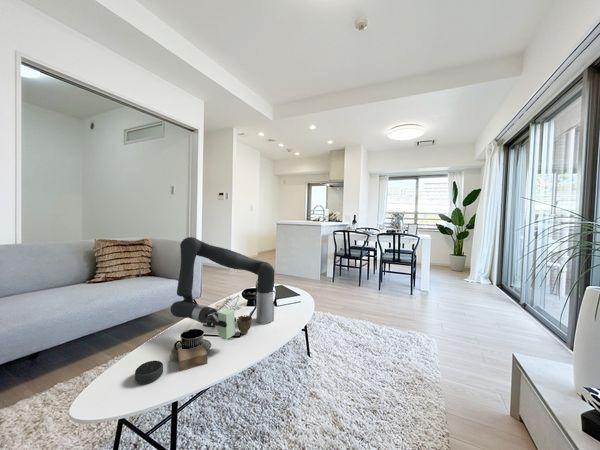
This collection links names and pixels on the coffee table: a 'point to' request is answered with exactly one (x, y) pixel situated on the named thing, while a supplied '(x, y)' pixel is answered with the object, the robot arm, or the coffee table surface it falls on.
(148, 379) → the smart speaker
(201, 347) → the walnut plinth
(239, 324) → the cup
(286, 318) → the coffee table surface
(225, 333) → the green block
